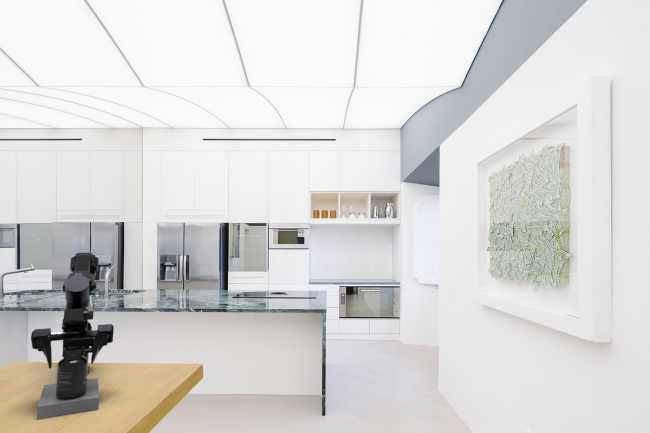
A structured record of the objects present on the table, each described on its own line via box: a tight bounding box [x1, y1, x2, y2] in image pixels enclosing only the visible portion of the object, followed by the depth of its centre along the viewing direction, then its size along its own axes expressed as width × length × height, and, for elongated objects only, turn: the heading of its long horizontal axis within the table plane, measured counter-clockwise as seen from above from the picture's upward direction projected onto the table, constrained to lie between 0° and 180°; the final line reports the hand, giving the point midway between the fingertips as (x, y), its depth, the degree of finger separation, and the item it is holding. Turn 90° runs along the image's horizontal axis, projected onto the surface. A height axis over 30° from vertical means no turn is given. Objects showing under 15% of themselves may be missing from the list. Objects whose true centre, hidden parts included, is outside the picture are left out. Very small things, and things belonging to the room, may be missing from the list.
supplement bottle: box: [55, 346, 89, 399], centre depth 107 cm, size 7×7×12 cm
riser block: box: [36, 377, 100, 420], centre depth 109 cm, size 16×13×3 cm
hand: (71, 365), depth 105 cm, fingers open, 9 cm apart
